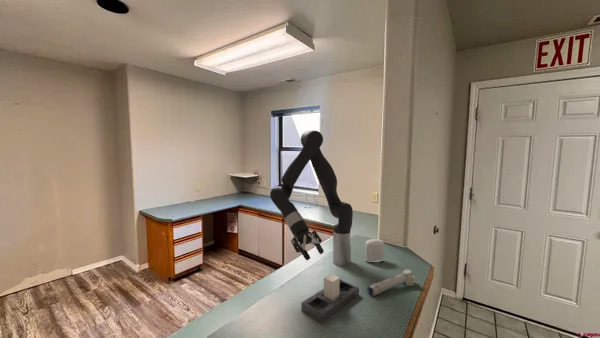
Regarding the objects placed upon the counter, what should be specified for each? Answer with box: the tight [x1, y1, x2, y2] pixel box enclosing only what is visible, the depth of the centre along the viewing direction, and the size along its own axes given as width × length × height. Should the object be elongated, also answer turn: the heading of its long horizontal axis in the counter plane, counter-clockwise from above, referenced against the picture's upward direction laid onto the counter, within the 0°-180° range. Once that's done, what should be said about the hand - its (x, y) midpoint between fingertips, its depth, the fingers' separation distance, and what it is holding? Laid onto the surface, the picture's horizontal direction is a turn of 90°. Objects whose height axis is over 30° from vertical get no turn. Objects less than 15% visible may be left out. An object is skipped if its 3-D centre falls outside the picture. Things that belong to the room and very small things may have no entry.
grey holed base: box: [300, 279, 360, 324], centre depth 93 cm, size 24×10×3 cm, turn 135°
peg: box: [323, 273, 341, 301], centre depth 93 cm, size 4×4×10 cm
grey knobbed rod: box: [366, 269, 416, 297], centre depth 103 cm, size 5×7×25 cm
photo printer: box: [364, 238, 385, 263], centre depth 129 cm, size 10×4×12 cm, turn 98°
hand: (315, 256), depth 99 cm, fingers open, 8 cm apart
